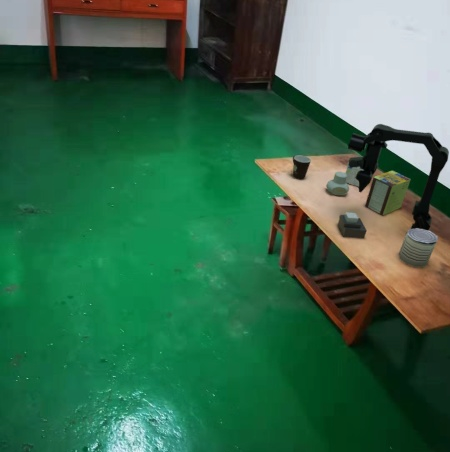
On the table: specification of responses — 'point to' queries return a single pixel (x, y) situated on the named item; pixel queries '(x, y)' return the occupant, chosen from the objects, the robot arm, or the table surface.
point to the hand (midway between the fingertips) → (362, 188)
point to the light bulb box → (352, 175)
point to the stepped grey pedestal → (351, 228)
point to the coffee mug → (300, 166)
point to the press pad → (351, 217)
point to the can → (417, 247)
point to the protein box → (387, 192)
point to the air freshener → (338, 184)
